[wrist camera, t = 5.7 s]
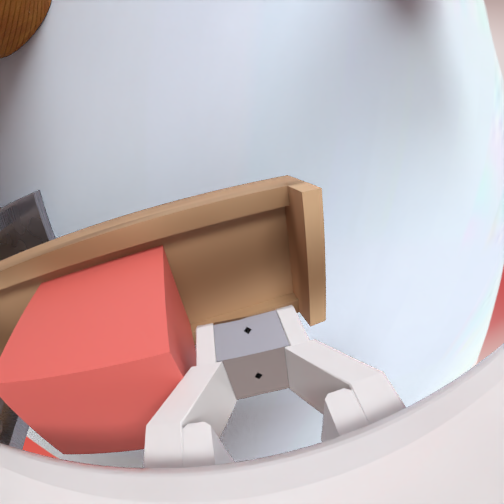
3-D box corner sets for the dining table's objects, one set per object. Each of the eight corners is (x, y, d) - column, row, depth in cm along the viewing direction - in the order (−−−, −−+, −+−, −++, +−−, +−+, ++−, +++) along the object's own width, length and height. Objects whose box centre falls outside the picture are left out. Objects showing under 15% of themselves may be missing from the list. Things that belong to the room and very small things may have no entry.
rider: (41, 283, 9) (-12, 384, 4) (162, 244, 11) (169, 351, 5) (80, 350, 11) (63, 454, 6) (189, 322, 12) (217, 434, 7)
